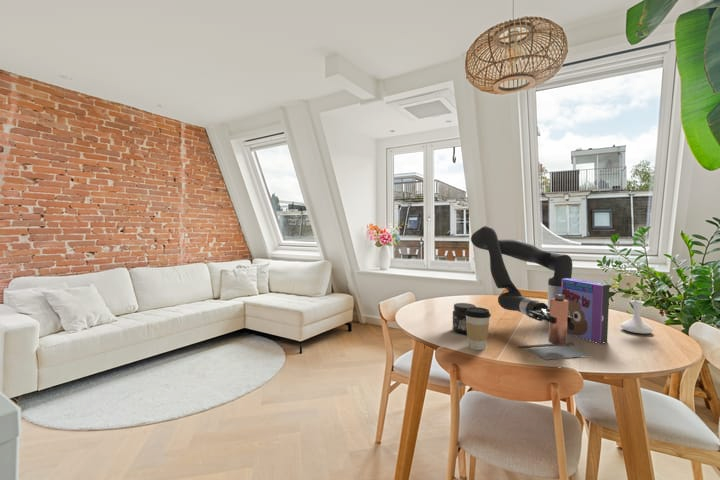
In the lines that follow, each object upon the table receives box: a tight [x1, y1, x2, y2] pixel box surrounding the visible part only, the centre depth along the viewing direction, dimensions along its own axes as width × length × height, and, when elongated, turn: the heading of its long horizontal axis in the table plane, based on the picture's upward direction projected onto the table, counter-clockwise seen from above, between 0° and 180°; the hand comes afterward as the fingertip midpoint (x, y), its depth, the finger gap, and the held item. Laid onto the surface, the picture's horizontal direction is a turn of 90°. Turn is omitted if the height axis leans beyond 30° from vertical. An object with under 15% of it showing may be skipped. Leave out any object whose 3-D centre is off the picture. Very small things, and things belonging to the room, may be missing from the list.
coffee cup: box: [464, 306, 492, 351], centre depth 137 cm, size 10×10×15 cm
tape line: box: [516, 342, 574, 349], centre depth 139 cm, size 24×1×1 cm, turn 99°
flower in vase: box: [617, 275, 654, 335], centre depth 156 cm, size 13×11×25 cm
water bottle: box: [547, 294, 569, 346], centre depth 130 cm, size 6×6×18 cm
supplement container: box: [452, 302, 477, 336], centre depth 156 cm, size 10×10×12 cm
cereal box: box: [561, 278, 610, 344], centre depth 149 cm, size 17×5×24 cm, turn 23°
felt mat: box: [527, 345, 590, 361], centre depth 131 cm, size 18×10×1 cm, turn 99°
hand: (563, 320), depth 128 cm, fingers closed on water bottle, 6 cm apart
